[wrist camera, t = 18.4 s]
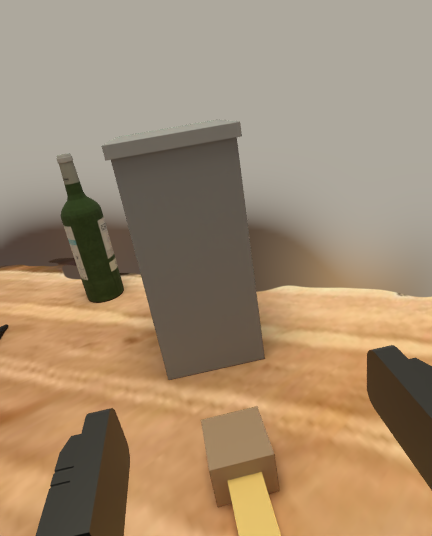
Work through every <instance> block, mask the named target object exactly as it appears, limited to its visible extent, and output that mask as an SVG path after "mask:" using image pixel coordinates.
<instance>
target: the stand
mask: <svg viewBox="0 0 432 536" xmlns="http://www.w3.org/2000/svg"><path fill="white" fill-rule="evenodd" d="M240 136H242V134H241V126H240V122H238V121H226V120H213V121H207V122H201V123H195V124H190V125H185V126H178V127H173V128H167V129H161V130H156V131H149V132H144V133H138V134H132V135H126V136H121V137H117V138H115V139H113V140H111V141H110V142H108V143H106V144H104V145H103V146H102V149H103V153H104V156H105V160H111V162H112V166H113V170H114V173H115V177H116V181H117V185H118V189H119V193H120V196H121V200H122V204H123V208H124V211H125V216H126V219H127V223H128V227H129V230H130V235H131V238H132V242H133V246H134V250H135V254H136V258H137V261H138V265H139V269H140V273H141V277H142V281H143V284H144V288H145V292H146V296H147V300H148V303H149V307H150V311H151V315H152V319H153V323H154V326H155V330H156V334H157V338H158V342H159V345H160V349H161V353H162V357H163V361H164V365H165V368H166V372H167V376H168V380H171V379H175V378H180V377H184V376H189V375H193V374H198V373H202V372H207V371H211V370H216V369H220V368H225V367H229V366H234V365H238V364H243V363H247V362H252V361H256V360H261V359H265V357H264V349H263V341H262V333H261V325H260V318H259V310H258V302H257V294H256V287H255V279H254V271H253V263H252V255H251V247H250V239H249V231H248V223H247V215H246V208H245V200H244V193H243V184H242V177H241V168H240V160H239V153H238V145H237V137H240Z"/></svg>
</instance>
